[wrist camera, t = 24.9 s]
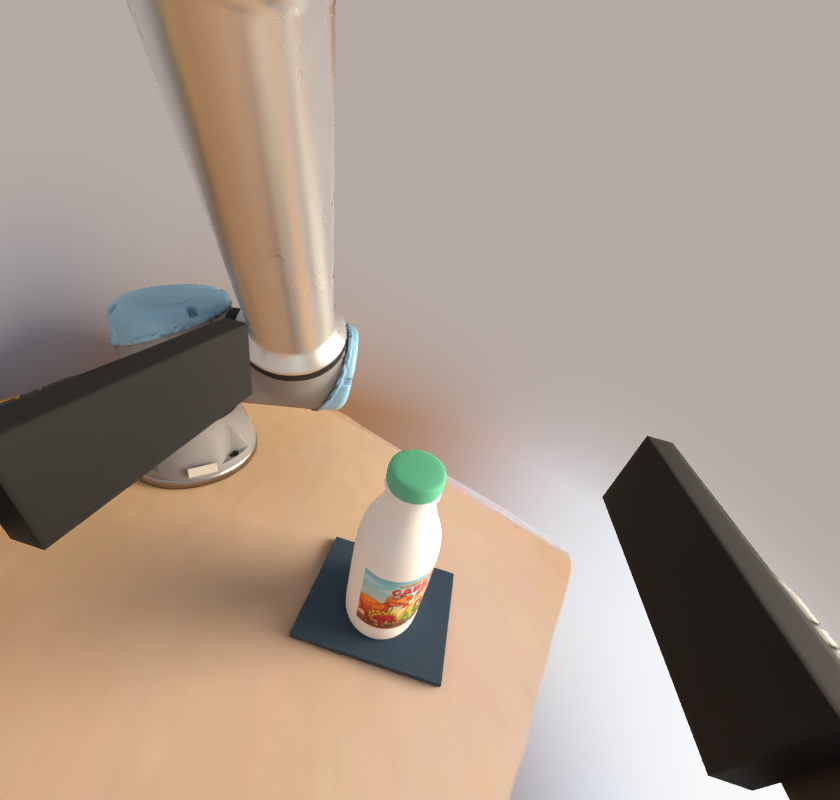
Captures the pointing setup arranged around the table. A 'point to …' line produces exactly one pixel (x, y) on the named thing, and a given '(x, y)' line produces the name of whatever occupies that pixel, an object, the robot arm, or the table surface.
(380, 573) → the milk bottle
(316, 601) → the placemat
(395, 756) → the table surface
